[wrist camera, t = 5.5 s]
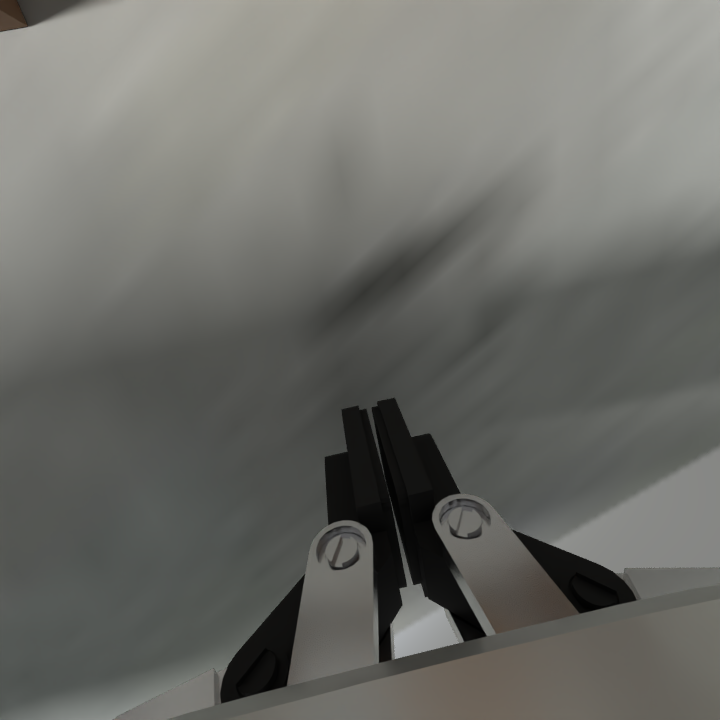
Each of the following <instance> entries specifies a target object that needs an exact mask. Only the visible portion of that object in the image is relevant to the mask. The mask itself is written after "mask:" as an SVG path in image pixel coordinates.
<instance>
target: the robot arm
mask: <svg viewBox="0 0 720 720" xmlns="http://www.w3.org/2000/svg"><path fill="white" fill-rule="evenodd" d="M377 404H378V406H376V407H372V413H373V418H374V423H375V428H376V434H377V439H378V444H379V449H380V454H381V459H382V465H383V470H384V474H383V470H382V467H381V463H380V459H379V455H378V451H377V448H376V444H375V440H374V436H373V432H372V429H371V425H370V421H369V417H368V414H367V410H366V409H363V410H359V406H355V407H350V408H346V409H341V410H342V417H343V424H344V431H345V437H346V444H347V451H348V452H344V453H340V454H335V455H331V456H326V457H325V474H326V491H327V509H328V526H326V527H324V528H323V529H322V530H321V531H320V532H319V533H318V534H317V535H316V536H315V538H314V539H313V541H312V543H311V546H310V549H309V555H308V561H307V567H306V573H305V575H304V576H303V577H302V578H301V579H300V581H299V582H298V583H297V584H296V585H295V586H294V587H293V589H292V590H291V591H290V592H289V593H288V594H287V596H286V597H285V598H284V599H283V600H282V601H281V603H280V604H279V605H278V606H277V607H276V608H275V609H274V611H273V612H272V613H271V614H270V615H269V616H268V618H267V619H266V620H265V621H264V622H263V623H262V624H261V626H260V627H259V628H258V629H257V630H256V631H255V633H254V634H253V635H252V636H251V637H250V638H249V639H248V641H247V642H246V643H245V644H244V645H243V646H242V648H241V649H240V650H239V651H238V652H237V653H236V655H235V656H234V658H233V659H232V661H231V662H230V663H229V665H228V667H227V668H225V669H223V670H221V671H219V672H217V673H216V671H215V669H214V668H213V669H211V670H209V671H207V672H205V673H203V674H201V675H199V676H197V677H195V678H193V679H191V680H189V681H187V682H185V683H183V684H181V685H179V686H177V687H175V688H173V689H171V690H169V691H167V692H165V693H163V694H161V695H159V696H157V697H155V698H153V699H151V700H149V701H147V702H145V703H143V704H141V705H139V706H137V707H135V708H133V709H131V710H129V711H127V712H125V713H123V714H121V715H119V716H117V717H116V718H114V719H113V720H720V567H719V568H718V567H716V568H715V567H713V568H625V569H624V573H619V574H618V573H617V574H616V573H614V572H613V571H611V570H609V569H607V568H605V567H603V566H601V565H599V564H596V563H594V562H592V561H589V560H587V559H584V558H582V557H579V556H577V555H574V554H572V553H569V552H566V551H564V550H561V549H559V548H557V547H554V546H552V545H549V544H547V543H544V542H542V541H539V540H537V539H534V538H532V537H529V536H527V535H524V534H522V533H519V532H517V531H514V530H512V529H510V527H509V526H508V525H507V524H506V522H505V521H504V520H503V519H502V518H501V516H500V515H499V514H498V513H497V511H496V510H495V509H494V508H493V507H492V506H491V505H490V504H489V503H488V502H487V501H486V500H484V499H482V498H480V497H478V496H474V495H470V494H460V492H459V490H458V488H457V486H456V484H455V482H454V480H453V478H452V476H451V474H450V472H449V470H448V468H447V466H446V464H445V462H444V460H443V458H442V456H441V454H440V452H439V450H438V448H437V446H436V444H435V442H434V440H433V438H432V436H431V435H430V434H424V435H420V436H415V437H411V436H410V433H409V431H408V429H407V426H406V424H405V421H404V419H403V417H402V414H401V412H400V409H399V407H398V405H397V402H396V400H395V398H391V399H387V400H382V401H377ZM384 475H385V478H384ZM385 479H386V482H385ZM386 484H387V485H386ZM387 488H388V489H387ZM388 491H389V493H388ZM389 495H390V497H389ZM390 499H391V502H390ZM391 503H392V506H393V510H394V514H395V518H396V521H397V525H398V529H399V533H400V537H401V540H402V544H403V548H404V552H405V555H406V559H407V563H408V567H409V570H410V574H411V578H412V582H413V585H416V584H420V583H421V584H422V588H423V591H424V595H425V597H428V599H430V600H432V601H434V602H435V603H437V604H439V605H440V606H442V607H444V610H445V613H446V617H447V619H448V621H449V623H450V625H451V627H452V629H453V631H454V633H455V636H456V638H457V640H458V642H459V644H454V645H450V646H446V647H442V648H438V649H434V650H430V651H426V652H422V653H418V654H414V655H410V656H406V657H402V658H398V659H395V655H394V634H393V627H392V621H393V620H394V618H395V616H396V615H397V613H398V611H399V610H400V608H401V606H402V600H401V595H400V590H399V588H403V587H407V584H406V579H405V574H404V568H403V563H402V558H401V553H400V548H399V542H398V537H397V532H396V527H395V522H394V517H393V511H392V506H391Z"/></svg>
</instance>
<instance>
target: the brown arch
mask: <svg viewBox="0 0 720 720" xmlns="http://www.w3.org/2000/svg"><path fill="white" fill-rule="evenodd" d="M21 27H27V23H26V21H25V19H24V16H23V14H22V12H21V9H20V7H19V5H18V2H17V0H0V31H4V30H10V29H16V28H21Z"/></svg>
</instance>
